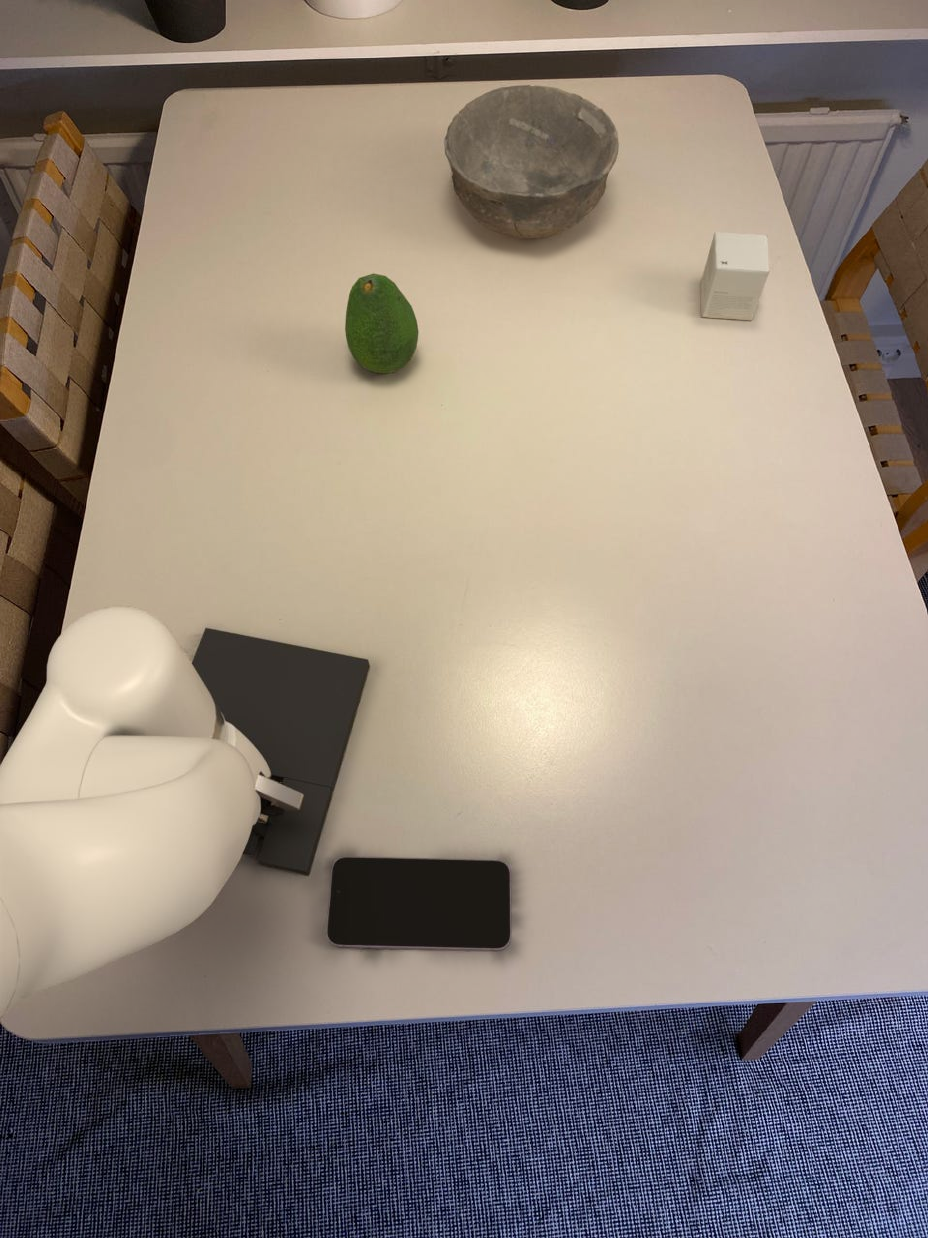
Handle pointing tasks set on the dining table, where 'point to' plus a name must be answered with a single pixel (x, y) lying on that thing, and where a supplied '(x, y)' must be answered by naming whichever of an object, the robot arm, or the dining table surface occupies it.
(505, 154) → the bowl
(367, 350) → the fruit
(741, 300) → the product box
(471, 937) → the smartphone
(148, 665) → the robot arm
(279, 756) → the mat
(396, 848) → the dining table surface
